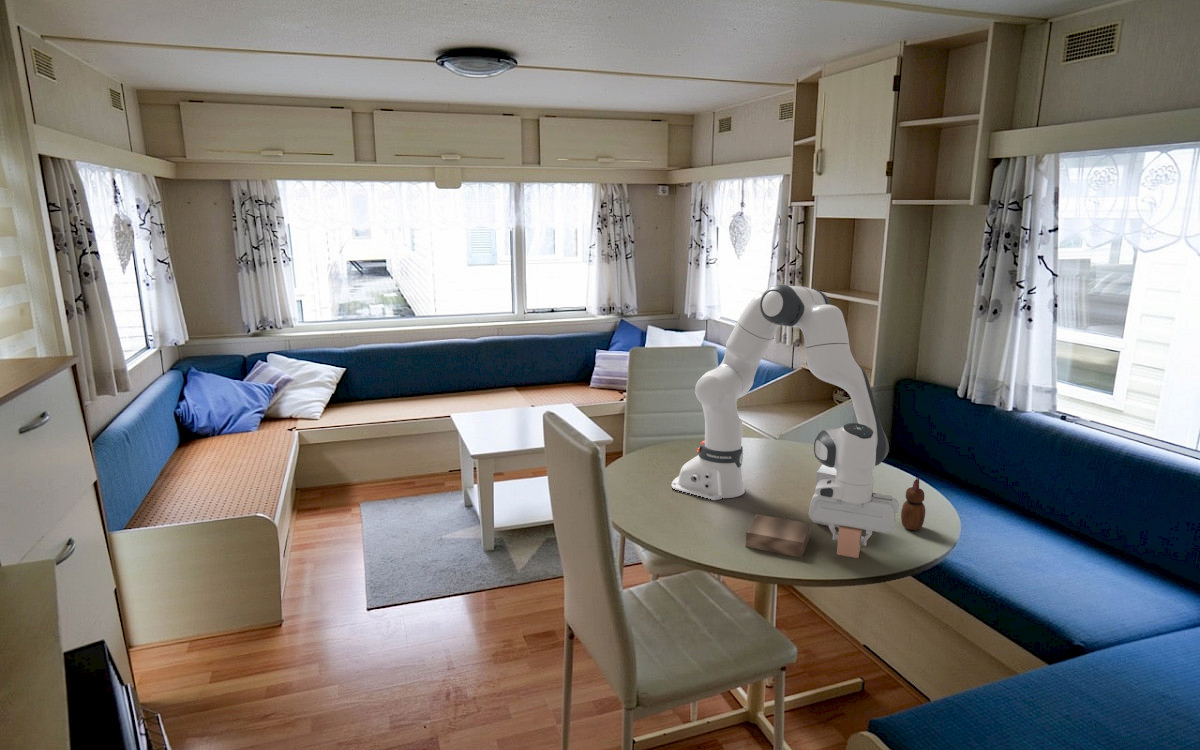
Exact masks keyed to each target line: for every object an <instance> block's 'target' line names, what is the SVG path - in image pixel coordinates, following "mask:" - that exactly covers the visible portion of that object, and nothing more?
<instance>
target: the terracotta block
mask: <svg viewBox="0 0 1200 750" xmlns="http://www.w3.org/2000/svg"><path fill="white" fill-rule="evenodd" d="M862 530H863V529H858V528H852V527H846V526H841V525H840V526H839V528H838V531H837V532H838V541H837V547H836V548H837V549H836V555H839V556H842V557H843V556H844V557H849V558H854V559H859V557H860V556H859V555H860V551H861V545H860V538H861V536H862Z"/></svg>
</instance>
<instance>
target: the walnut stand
mask: <svg viewBox="0 0 1200 750" xmlns="http://www.w3.org/2000/svg"><path fill="white" fill-rule="evenodd" d="M811 525H812V523H809V522H803V521H797V520H792V519H785V518H780V517H773V516H769V515H768V516H767V515H763V514H756V516H755V517H754V518H753V520H752V522H751V524H750V525H749V527H748V528H747V530H746V534H745V548H750V547H751V549H755V548H756V549H755V550H761V551H766V552H772V553H776V554H781V555H786V556H792V557H796V558H803V557H804V554H805V551H806V550H807V546H808V543H809V542H810V539H811V538H810V537H811Z"/></svg>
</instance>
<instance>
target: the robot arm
mask: <svg viewBox="0 0 1200 750" xmlns="http://www.w3.org/2000/svg"><path fill="white" fill-rule="evenodd" d="M781 326H784V327H791V328H798V329H799V330H801V332H802V335H803V339H804V340H803V341H804V352H805V361H806V365H807V367H808V370H809V371H810V373H812V374H813V376H814V377H816V378H817V379H818V380H821V381H822V382H825V383H828V384H831V385H834V386H837V387H839V388H841V389H843V390H844V391H845V392H847V395H849V397H850V399H851V402H852V405H853V409H854V413H855V416H856V421H857V422H849V423H846V424H843V425H842V426H841V427H838V428H827V429H822V430H821V431H820V432H819V433H818V434H817V436H816V437H815V440H814V443H813V452H814V453H813V454H814V457H815V459H817V460H818V462H820V463H821V465H825V466H827V467H831V468H832V467H833V468H835V469H836V471H837V473H836V476H835V478H831V479H823V480H820V481H819V482H818V483H817V485H816V484H815V489H816V490H815V491H814V493H813V495H812V497H811V501H810V504H809V509H808V514H807V515H808V518H809V520H811V521H812V522H813V521H817V522H823V523H829V526H828V529H829V530H830V532H831V534H832V541H837V542H838V532H839V531H837V530H836V527H835V525H841V526H846V527H852V528H858V529H862V530H865V535H863V536H862V535H861V538H860V546H863V547H864V546H865V547H867V543H868V542H867V541H868V539H869V538H870V537H871V536H872V534H873V532H875V533H883V534H887V535H891V534H893V533H894V532H895V530H896V514H897V513H898V511H899V506H900V504H899V500H898V499H897V498H895V497H894V496H893V495H888V494H887V495H886V494H881V493H876V492H874V491H873V490H874V481H875V478H874V474H873V473H874V468H875V467H877V466H879V465H880V464H882V462H883V461H884V460H885V459H886V457H887V456H888V453H889V450H890V446H889V440H888V437H887V434H886V433H885V431H884V429H883V426H882V424H881V421H880V417H879V414H878V409H877V406H876V403H875V398H874V395H873V392H872V388H871V384H870V381H869V378H868V376H867V373H866V371H865V369H864V368H863V367H862V366H861V365H859V364H858V363H857V362H856V360H855V358H854V356H853V354H852V352H851V348H850V347H851V346H850V339H849V334H848V328H847V325H846V321H845V317H844V313H843V312H842V310H841V309H840V308H839V307H838V306H836V305H832V303H831V300H830V298H829V297H828V296H827V295H826V294H825V293H823V292H822V291H821V290H819V289H816V288H810V287H807V286H802V285H787V284H778V285H777V284H776V285H772V286H771V287H768V289H766V290H765V291H764V292H760V293H757V294H755V295H754V296H753V298H752V299H751V300H750V301H749V303H748V304H747V306H745V308H744V310H743V311H742V313H741V315H740V316H739V318H738V321H737V322H736V324H735V325H734V328H733V329H732V331H731V333H730V334H729V337H728V339H727V340H726V342H725V352H724V356H723V359H722V360H721V363H720V364H719V365H718V366H717V367H715V368H714V369H710V370H708V371H706V372H705V373H704V374H702V376H701V377H700V378H699V379H698V380H697V382H696V384H695V385H694V387H695V388H694V393H695V396H696V399H697V400H698V401H699V403H700V404H701V406H702V411H703V415H704V424H705V425H704V440H702V441H701V442H700V444H699V445H698V448H697V449H696V450H697V451H696V452H697V453H698V455H696V456H694V457H693V458H691V459H690V460H688V461H687V462H685V463H684V464H683V465H682V467H681V468H680V471H679V474H678V476H677V477H675V478H674V479H673V480H672V482H671V484H670V485H671V486H672V488H673V489H675V490H679V491H682V492H681V493H683V492H686V493H685V494H687V493H690V494H689V495H691V494H694V495H697V496H696V497H698V496H701V497H700V498H702V497H704V498H703V499H706V498H708V499H707V500H710V499H711V501H718V500H722V498H723V499H732V498H737V497H740V496H743V495H744V493H745V492H746V488H745V485H744V480H743V472H742V465H743V460H744V452H743V451H744V450H743V445H742V442H743V441H742V440H743V438H742V437H743V422H742V419H741V418H740V416H739V412H738V406H737V401H738V399H741V398H742V397H744V396H745V395H746V394H747V393H748V392H749V391H750V389H751V388H752V387H753V385H754V380H755V376H756V373H757V371H758V368H759V365H760V363H761V360H762V358H763V357H764V355H765V353H766V351H767V349H768V347H769V346H770V344H771V342H772V340H773V338H774V337H775V335H776V333H777V331H778V329H779V328H780V327H781ZM671 486H670V487H671ZM672 488H671V489H672ZM675 490H674V491H675ZM679 491H678V492H679ZM694 495H693V496H694Z"/></svg>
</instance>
